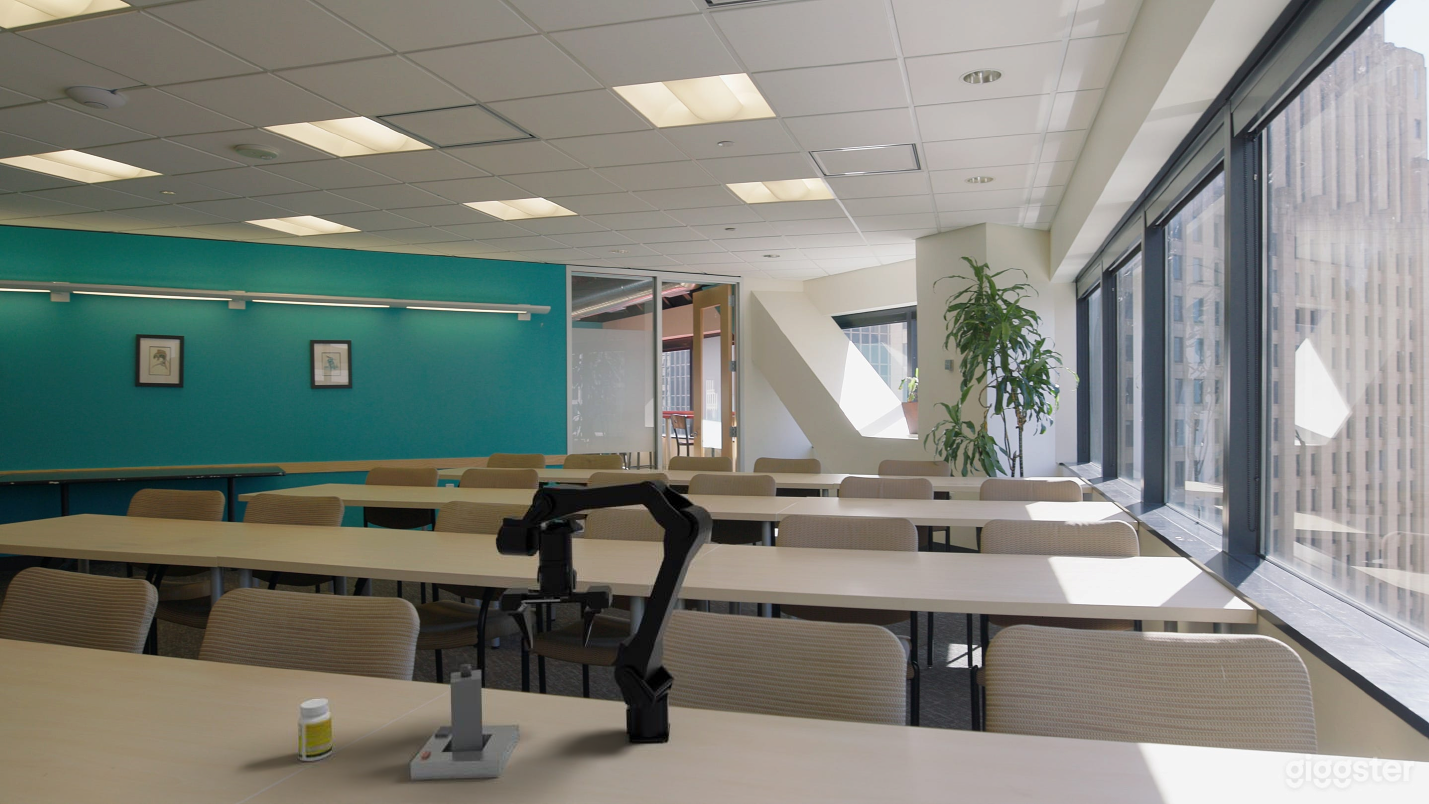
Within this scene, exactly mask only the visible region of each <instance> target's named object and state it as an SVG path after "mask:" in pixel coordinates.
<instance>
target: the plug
mask: <svg viewBox="0 0 1429 804" xmlns="http://www.w3.org/2000/svg"><path fill="white" fill-rule="evenodd" d="M450 675H451V676H450V711H451V712H450V713H451V715H450V718H451V719H450V721H451V727H452V752H466V751H482V750H483V733H482V726H483V699H482V669H475V670H474V669H473V670H472V664H470V663H464V664H460V671H457V672H451V674H450Z"/></svg>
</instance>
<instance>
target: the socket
mask: <svg viewBox="0 0 1429 804" xmlns="http://www.w3.org/2000/svg"><path fill="white" fill-rule="evenodd" d="M482 733H483V750H482V751H466V752H452V727H451V726H446V725H445V726H438V728H437V730H436V731H435V732H434V733H433V734H432V736H431V737H430V738H429V739H428V741H427V742H426V743H425V744H424V745H423V747H422V748H421V749H420V751H419V752H418V753H417V754H416V755H415V756H414V759H412V760H411V762H410V780H411V781H419V780H421V781H424V780H453V779H483V778H500V776H501V775H502V773H503V771H504V770H505V767H506V765H507V763H508V761H509V760H510V758H511V756H512V754H513V752H514V750H515V749H516V747H517V745H518V743H519V741H520V725H519V724H504V725H503V724H499V725H498V724H497V725H494V724H493V725H482Z"/></svg>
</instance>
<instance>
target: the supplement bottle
mask: <svg viewBox="0 0 1429 804" xmlns="http://www.w3.org/2000/svg"><path fill="white" fill-rule="evenodd" d="M299 707H300V709H299V710H300V716H299V718H298V720H297V728H298V731H297V733H298V735H297V737H298V756H299V757H298V759H300V761H303V762H317V761H320V760H323V759H325V758H327V757H328V756H330V755H332V752H333V734H332V733H333V730H332V729H333V728H332V713H331V712H330V711H329V708H330V706H329V700H328V699H326V698H314V699H309V700H306V701H304V702H302V703H301V704H300V705H299Z"/></svg>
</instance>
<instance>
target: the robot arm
mask: <svg viewBox="0 0 1429 804" xmlns="http://www.w3.org/2000/svg"><path fill="white" fill-rule="evenodd" d="M535 491H536V492H535V493H534V495H533V498H532V501H531V504H530V507H529V508H528V509H527V511H526V513H525V514H524V516H523V517H518V516H514V515H513V516H506V517H503V518H502V525H501V526H500V528H499V529H498V532H497V535H496V538H495V545H496V546H495V547H496V550H497V552H498V553H499V555H501V556H513V557H515V556H516V557H530V558H531V557H534V556H536V555H537V553H538V566H537V572H536V573H537V574H536V583H537V584H539V585H538V586H539V591H538V592H529V588H528V587H508V588H507V589H506V590H505V591H503V593H502V594H501V595H500V596H499V598H498V612H506V616H507V617H512V618H513V620H514V622H515V623H516V625H517V626H518V628H519V630H520V631H521V634H522V636H523V638H524V640H525V643H526V645H527V648H528V649H529V650H532V649H533V648H534V647H533V646H534V641H533V640H534V638H533V636H534V635H533V628H532V620H531V609H532V608H531V605H541V604H542V605H545V604H547V605H551V604H553V605H554V604H582V603H583V604H585V605H586V608H585V609H584V611H583V625H582V637H581V638H582V639H581V641H582V642H581V643H582V644H581V645H582V648H583V649H585V648H586V646H587V643H588V640H589V636H590V633H591V629H592V625H593V622H594V621H595V617H596V615H599V614H602V613H603V611H604V609H605V610H606V609H609V608H610V607H611V605H612V603H613V588H612V587H611V586H610V585H589V586H588V588H587V589H586V591H575V590H577V586H578V585H577V584H578V583H577V582H578V581H577V578H578V576H577V575H578V572H577V570H576V569H574V566H573V565H574V564H573V563H574V562H573V534H576V533H578V532H581V531H584V526H583V525H582V524H580V523H579V522H578V521H577V520H576V519H575V517H570V518H568V519H565V521H555V520H556V519H560V518H563V517H567V516H571V515H574V514H577V513H581V512H583V511H589V510H590V511H591V510H598V509H600V510H601V509H607V508H609V509H610V508H618V507H619V508H620V507H628V506H629V507H630V506H639V505H641V506H643V507H644V508H646V509H647V510H648V512H649V513H650V515H651V516H652V518H653V519H654V521H655V522H656V523H657V524H658V525H659V526H660V527H662V529H664V535H663V540H662V545H663V558H662V562H661V564H660V567H659V570H658V574H657V576H656V578H655V581H654V584H653V586H652V588H651V592H650V595H649V598H648V601H647V603H646V605H645V609H644V612H643V614H642V618H641V619H640V623H639V625H638V629H637V631H636V633H633V634H632V635H630V636H629V637H627V638H625V639H624V640H623V641H621V642H620V643H619V645H618V649H617V655H616V657H615V659H614V661H613V662H612V663H611V666H612V667H614V668H613V672H612V674H613V679H614V680H615V682H616V684H617V686H618V687H619V689H620V692H621V694H622V698H623V701H624V704H625V706H626V709H625V715H626V716H625V717H626V718H625V719H626V734H627V735H628V742H629V743H649V742H650V743H651V742H654V743H655V742H668V741H669V740H670V731H671V723H670V720H669V719H670V718H669V717H670V714H669V713H670V712H669V709H670V708H669V693H668V692H669V691H671V690H672V689H673V686H674V683H675V677H674V676H673V675H672V674H671V672H670V671H668V669H667V668H666V667H665V666H664V665H663V664H662V663H663V659H664V636H665V634H666V633H665V632H666V630H667V628H668V625H669V622H670V619H671V617H672V614H673V611H674V609H675V606H676V602H677V600H678V597H679V595H680V592H681V589H682V586H683V583H684V581H685V578H686V576H687V573H688V570H689V567H690V564H691V563H692V561H693V559H694V558H695V557H696V556H697V554H698V553H699V551H700V550H701V549H702V547H703V546H704V543H705V542H706V540H707V539H708V537H709V535H710V534H711V532H712V529H713V526H714V523H713V522H714V520H713V518H712V516H711V514H710V513H709V511H708V510H707V509H706V508H705V507H703V506H701V505H697V504H694V503H693V502H692V501H691V500H690V499H689V498H687V497H685V496H684V495H683V494H680V493H679V492H677V491H675V490H674V489H672V488H671V487H670V486H668V485H667V484H666V483H665V482H664V481H663V480H661V479H660V478H652V479H647V480H644V481H635V482H627V483H626V482H625V483H617V484H608V485H601V486H600V485H599V486H583V485H579V484H570V483H558V484H554V485H548V486H545V487H544V486H543V487H540V488H538V489H537V490H535ZM548 522H549V523H548ZM546 523H548V525H547V526H544V525H542V524H546Z"/></svg>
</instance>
